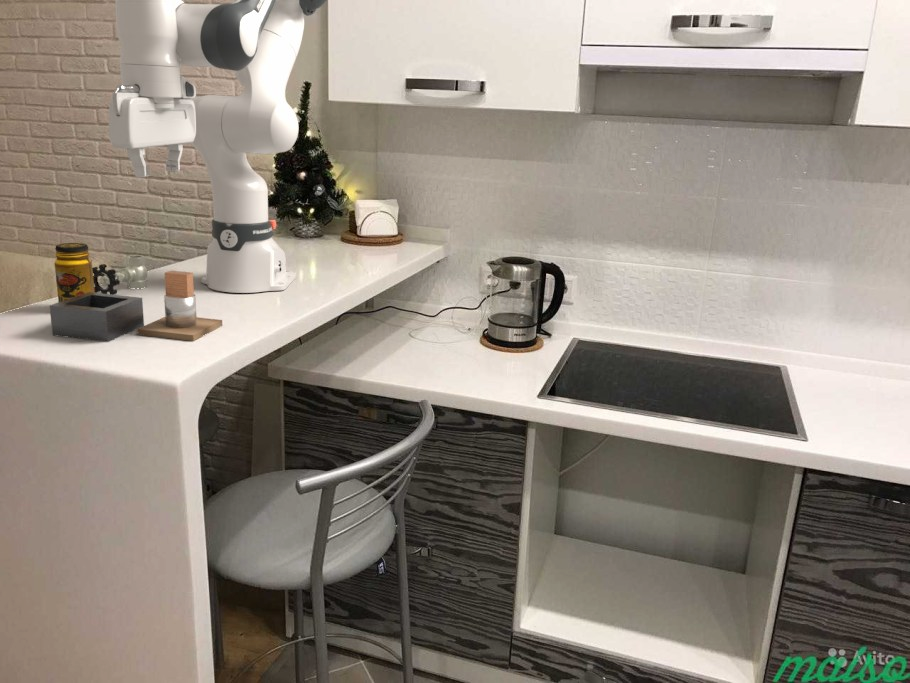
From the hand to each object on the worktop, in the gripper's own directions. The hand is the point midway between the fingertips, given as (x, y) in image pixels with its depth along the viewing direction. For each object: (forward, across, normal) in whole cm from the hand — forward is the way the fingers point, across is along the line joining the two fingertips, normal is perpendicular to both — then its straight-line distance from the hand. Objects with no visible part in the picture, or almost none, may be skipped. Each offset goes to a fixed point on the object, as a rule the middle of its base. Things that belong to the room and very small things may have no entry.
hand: (158, 174), depth 124 cm
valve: (+27, +19, +20) cm, 39 cm away
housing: (+26, -7, +9) cm, 28 cm away
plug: (+25, -2, -4) cm, 25 cm away
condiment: (+26, +4, +20) cm, 33 cm away
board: (+26, -2, -4) cm, 26 cm away
